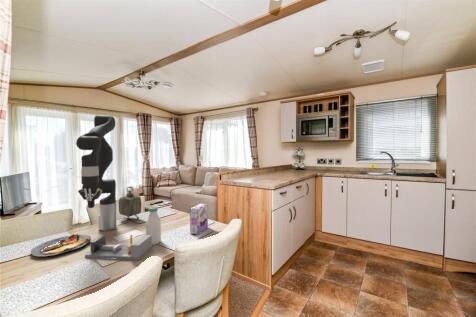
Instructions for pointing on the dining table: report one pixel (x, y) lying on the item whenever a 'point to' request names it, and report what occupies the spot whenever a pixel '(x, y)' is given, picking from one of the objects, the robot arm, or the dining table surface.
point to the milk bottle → (153, 226)
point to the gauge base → (126, 250)
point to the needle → (130, 245)
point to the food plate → (61, 245)
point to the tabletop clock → (130, 204)
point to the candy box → (198, 218)
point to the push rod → (103, 245)
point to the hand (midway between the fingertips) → (91, 207)
